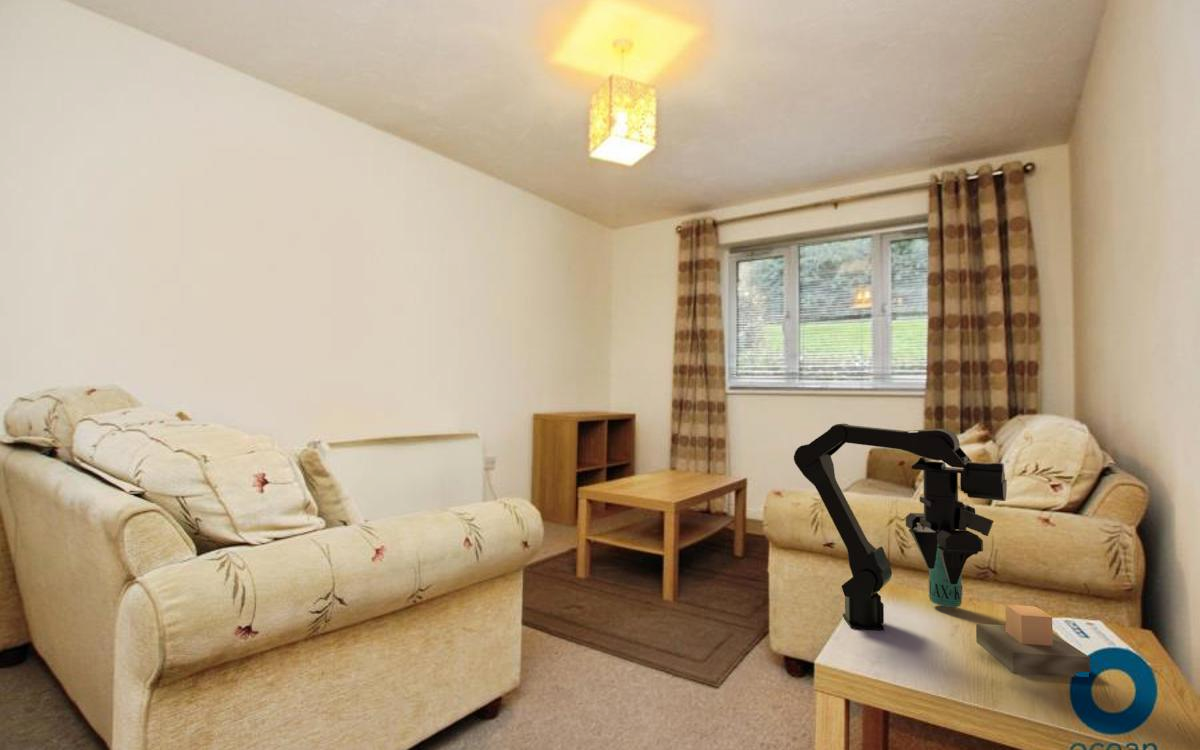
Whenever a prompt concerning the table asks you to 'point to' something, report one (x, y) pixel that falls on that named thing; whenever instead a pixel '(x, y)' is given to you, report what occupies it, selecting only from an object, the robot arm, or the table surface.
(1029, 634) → the terracotta cube
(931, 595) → the beverage bottle
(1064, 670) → the dark box
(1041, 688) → the table surface
